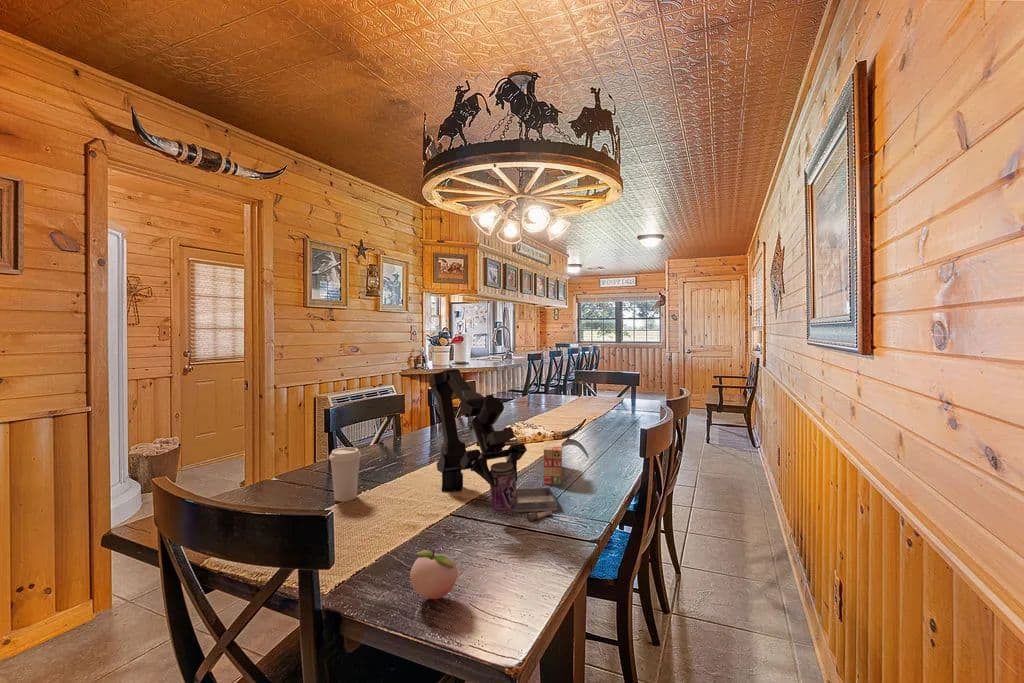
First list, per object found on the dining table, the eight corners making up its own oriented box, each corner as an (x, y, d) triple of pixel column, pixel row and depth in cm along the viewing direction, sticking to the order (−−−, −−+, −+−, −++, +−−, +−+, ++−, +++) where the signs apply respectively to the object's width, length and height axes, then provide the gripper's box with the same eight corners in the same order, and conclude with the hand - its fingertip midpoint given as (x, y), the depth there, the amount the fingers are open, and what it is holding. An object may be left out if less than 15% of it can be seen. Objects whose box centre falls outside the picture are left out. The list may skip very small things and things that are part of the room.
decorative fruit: (400, 606, 91) (400, 555, 90) (423, 584, 98) (423, 537, 98) (443, 617, 87) (443, 564, 87) (463, 594, 95) (463, 545, 95)
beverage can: (498, 516, 124) (495, 472, 123) (487, 507, 131) (484, 465, 129) (522, 509, 128) (519, 466, 126) (510, 500, 134) (507, 459, 133)
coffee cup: (367, 497, 148) (367, 450, 148) (338, 506, 141) (338, 456, 141) (352, 490, 155) (351, 445, 154) (323, 498, 148) (323, 450, 147)
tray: (516, 511, 137) (516, 503, 137) (511, 496, 149) (511, 489, 149) (557, 510, 138) (557, 501, 138) (549, 495, 151) (549, 487, 150)
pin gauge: (531, 522, 130) (531, 515, 130) (526, 520, 131) (526, 513, 131) (553, 515, 134) (553, 508, 134) (548, 513, 136) (548, 506, 136)
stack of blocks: (545, 466, 182) (545, 434, 182) (561, 466, 182) (562, 435, 181) (543, 484, 161) (543, 448, 161) (561, 485, 160) (561, 449, 160)
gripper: (465, 421, 126) (484, 473, 117) (523, 414, 136) (545, 462, 127) (452, 444, 133) (470, 495, 124) (509, 436, 143) (529, 482, 134)
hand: (504, 483), depth 127 cm, fingers closed on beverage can, 7 cm apart
